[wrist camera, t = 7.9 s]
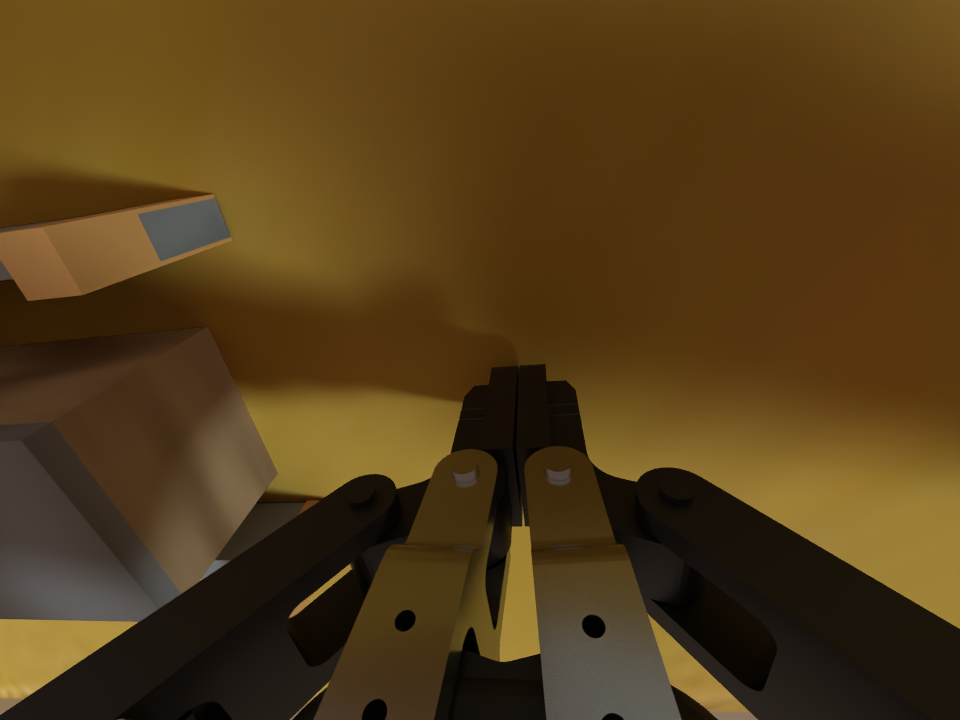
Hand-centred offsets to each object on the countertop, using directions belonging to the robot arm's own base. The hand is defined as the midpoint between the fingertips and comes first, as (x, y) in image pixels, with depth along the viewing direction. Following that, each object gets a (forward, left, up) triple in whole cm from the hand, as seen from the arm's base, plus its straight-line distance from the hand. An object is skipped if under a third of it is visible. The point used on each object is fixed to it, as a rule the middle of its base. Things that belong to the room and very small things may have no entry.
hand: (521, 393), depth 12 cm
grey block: (+14, 0, -1) cm, 14 cm away
